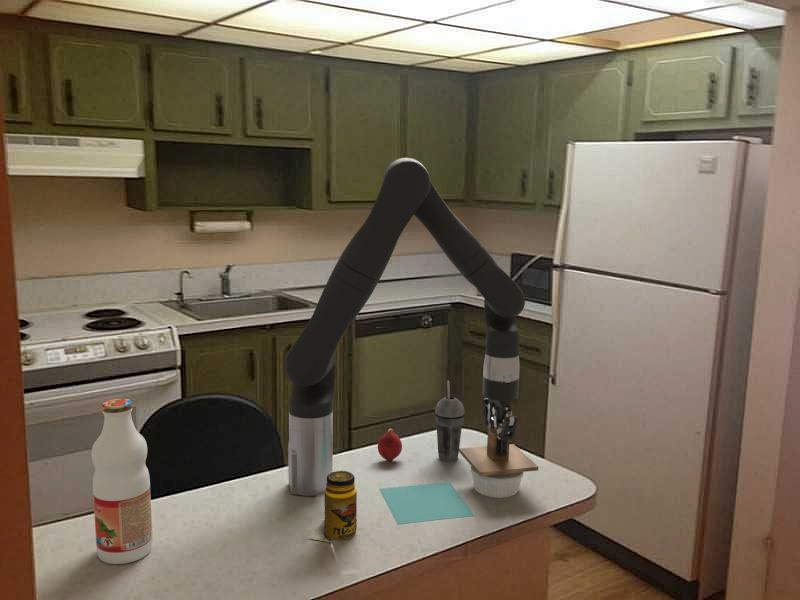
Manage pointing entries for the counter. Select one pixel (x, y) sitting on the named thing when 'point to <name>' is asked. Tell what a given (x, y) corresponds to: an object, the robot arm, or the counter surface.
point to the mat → (425, 503)
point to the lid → (497, 458)
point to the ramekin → (497, 484)
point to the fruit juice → (121, 487)
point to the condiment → (338, 508)
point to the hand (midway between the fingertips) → (497, 451)
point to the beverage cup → (449, 426)
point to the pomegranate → (389, 446)
